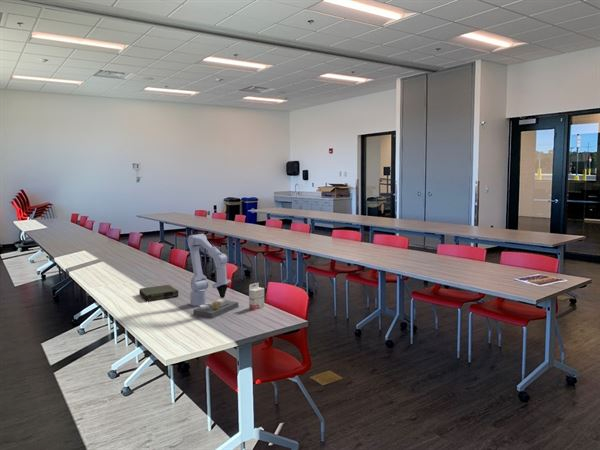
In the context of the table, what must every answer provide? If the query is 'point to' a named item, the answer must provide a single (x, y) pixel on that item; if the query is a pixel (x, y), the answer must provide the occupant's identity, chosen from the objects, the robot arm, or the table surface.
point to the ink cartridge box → (256, 296)
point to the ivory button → (220, 301)
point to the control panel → (216, 312)
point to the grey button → (204, 307)
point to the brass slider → (215, 305)
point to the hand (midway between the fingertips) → (222, 297)
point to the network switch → (158, 292)
